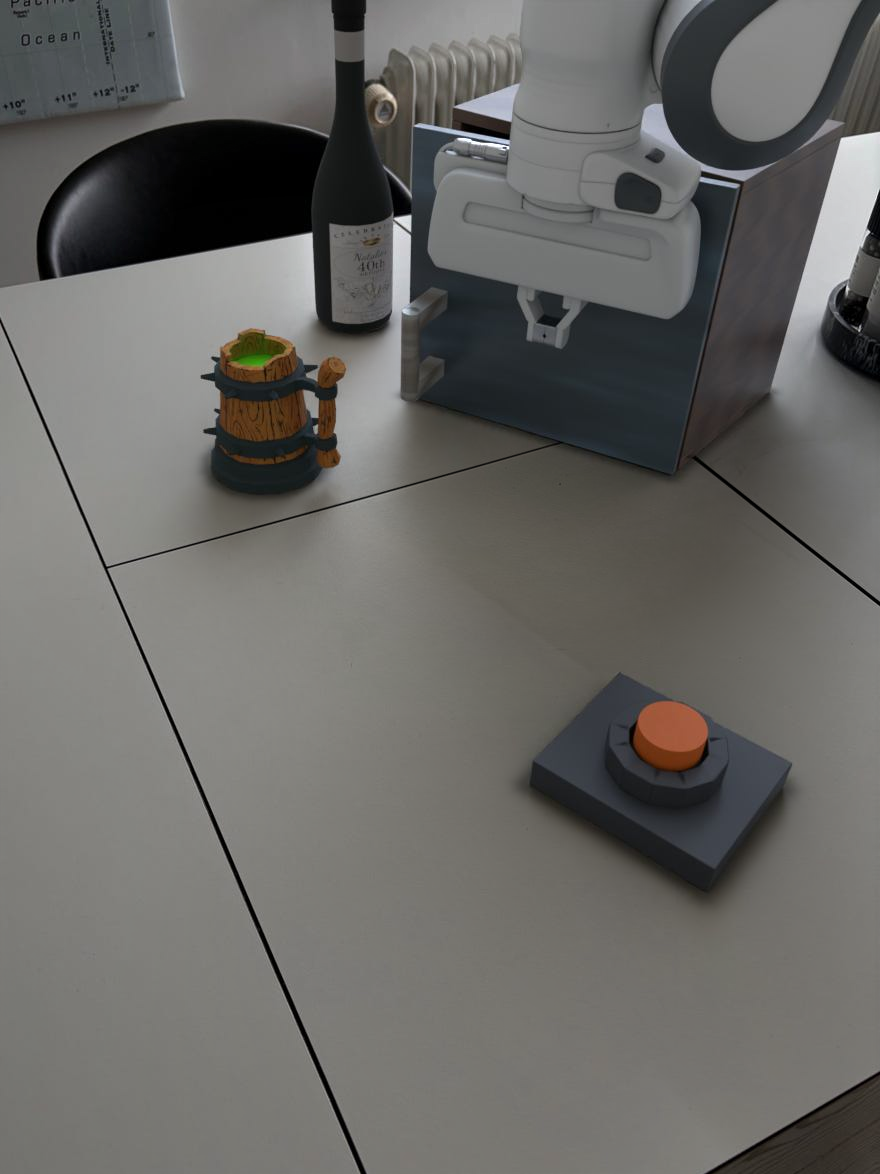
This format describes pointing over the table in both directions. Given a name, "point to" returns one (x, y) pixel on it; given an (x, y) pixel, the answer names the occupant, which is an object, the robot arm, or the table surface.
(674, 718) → the button
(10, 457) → the table surface
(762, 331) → the cupboard
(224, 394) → the mug
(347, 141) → the wine bottle
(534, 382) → the door
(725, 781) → the button block
